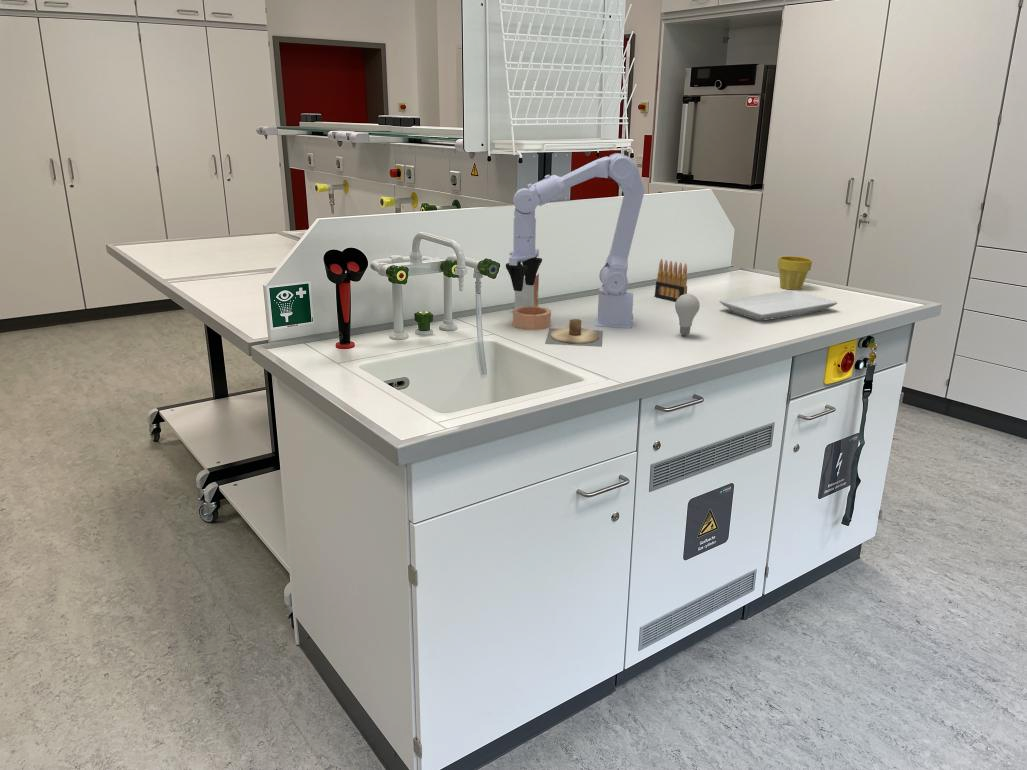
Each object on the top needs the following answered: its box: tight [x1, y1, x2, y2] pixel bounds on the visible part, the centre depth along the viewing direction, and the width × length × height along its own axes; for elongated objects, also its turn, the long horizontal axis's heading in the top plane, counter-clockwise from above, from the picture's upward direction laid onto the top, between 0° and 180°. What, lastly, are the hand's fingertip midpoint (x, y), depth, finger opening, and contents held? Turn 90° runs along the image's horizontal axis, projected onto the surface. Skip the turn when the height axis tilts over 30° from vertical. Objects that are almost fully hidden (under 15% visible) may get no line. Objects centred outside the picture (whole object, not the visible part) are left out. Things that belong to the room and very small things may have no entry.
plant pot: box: [777, 255, 813, 291], centre depth 249 cm, size 10×10×10 cm
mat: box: [544, 327, 604, 348], centre depth 193 cm, size 14×14×1 cm
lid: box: [551, 318, 599, 344], centre depth 192 cm, size 12×12×4 cm
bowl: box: [512, 305, 552, 331], centre depth 203 cm, size 10×10×4 cm
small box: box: [514, 272, 540, 309], centre depth 216 cm, size 8×6×10 cm
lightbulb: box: [674, 293, 701, 337], centre depth 194 cm, size 6×6×11 cm
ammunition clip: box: [654, 258, 688, 303], centre depth 231 cm, size 11×2×12 cm, turn 43°
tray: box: [719, 290, 838, 321], centre depth 221 cm, size 17×32×4 cm, turn 119°
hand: (523, 287), depth 202 cm, fingers open, 7 cm apart
